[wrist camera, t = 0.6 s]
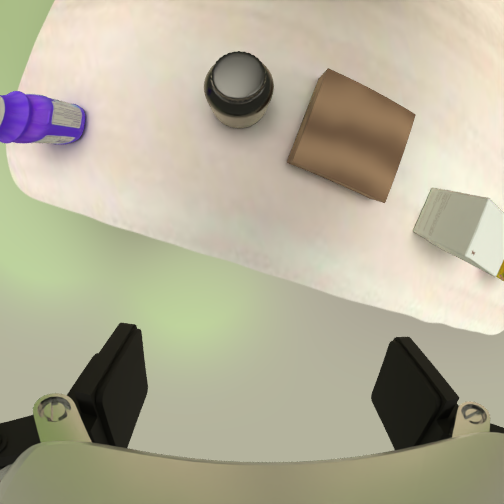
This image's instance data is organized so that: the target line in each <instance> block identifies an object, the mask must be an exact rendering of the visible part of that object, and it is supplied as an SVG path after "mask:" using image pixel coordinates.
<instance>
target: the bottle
mask: <svg viewBox="0 0 504 504" xmlns="http://www.w3.org/2000/svg"><path fill="white" fill-rule="evenodd" d="M84 124H85V113H84V110H83V109H82V108H81V107H80V106H78V105H76V104H70V103H66V102H63V101H59V100H55V99H51V98H48V97H46V96H43V95H35V94H24V93H22V92H20V91H13V92H10V93H9V94H7V95H3V96H1V95H0V142H2V143H11V142H15V143H51V144H68V143H72V142H74V141H76V140H78V139H79V138H80V137H81V135H82V133H83V130H84Z"/></svg>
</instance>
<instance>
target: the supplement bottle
mask: <svg viewBox="0 0 504 504" xmlns="http://www.w3.org/2000/svg"><path fill="white" fill-rule="evenodd" d="M273 89H274V83H273V78H272V75H271V73H270V71H269V70H268V69H267V67H266V66H265V65H264V64H263V63H262V62H261V61H259V59H258V58H256V57H255V56H254V55H251V54H250V53H246V52H240V51H238V52H232V53H228V54H227V55H224V56H223V57H221V58H219V60H218V61H216V64H215V65H213V66H212V68H211V69H210V70H209V72H208V73H207V76H206V78H205V82H204V92H205V96H206V99H207V101H208V103H209V105H210V107H211V109H212V111H213V113H214V115H215V116H216V118H217V119H218V120H219V121H220V122H222V123H223V124H225V125H227V126H229V127H233V128H245V127H249V126H252V125H253V124H255V123H257V122H258V121H259V120H260V119H261V118H262V117H263V115H264V114H265V112H266V110H267V107H268V105H269V103H270V100H271V98H272V95H273Z"/></svg>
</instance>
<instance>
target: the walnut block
mask: <svg viewBox="0 0 504 504" xmlns="http://www.w3.org/2000/svg"><path fill="white" fill-rule="evenodd" d="M414 118H415V114H414V113H412V112H411V111H409V110H407V109H406V108H404V107H402V106H401V105H399V104H397V103H395V102H394V101H392V100H390V99H388V98H387V97H385V96H383V95H381V94H379V93H377V92H376V91H374V90H372V89H370V88H368V87H366V86H364V85H362V84H360V83H358V82H356V81H354V80H352V79H350V78H348V77H346V76H344V75H341V74H339V73H337V72H335V71H333V70H330V69H327V70H326V71H325V72H324V73H323V75H322V76H321V77H320V78H319V79H318V82H317V85H316V87H315V90H314V92H313V95H312V98H311V100H310V103H309V105H308V108H307V111H306V113H305V116H304V119H303V121H302V124H301V126H300V129H299V132H298V134H297V137H296V139H295V142H294V145H293V147H292V150H291V152H290V155H289V158H288V160H287V163H289V164H292V165H294V166H297V167H299V168H302V169H304V170H307V171H309V172H311V173H314V174H316V175H319V176H321V177H323V178H326V179H328V180H330V181H333V182H335V183H337V184H340V185H342V186H344V187H346V188H349V189H351V190H353V191H355V192H357V193H360V194H362V195H364V196H366V197H368V198H370V199H374V200H377V201H380V202H383V203H385V202H386V199H387V196H388V194H389V191H390V189H391V186H392V183H393V181H394V178H395V175H396V172H397V170H398V167H399V164H400V161H401V158H402V155H403V152H404V149H405V146H406V143H407V140H408V137H409V134H410V131H411V128H412V125H413V121H414Z"/></svg>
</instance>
